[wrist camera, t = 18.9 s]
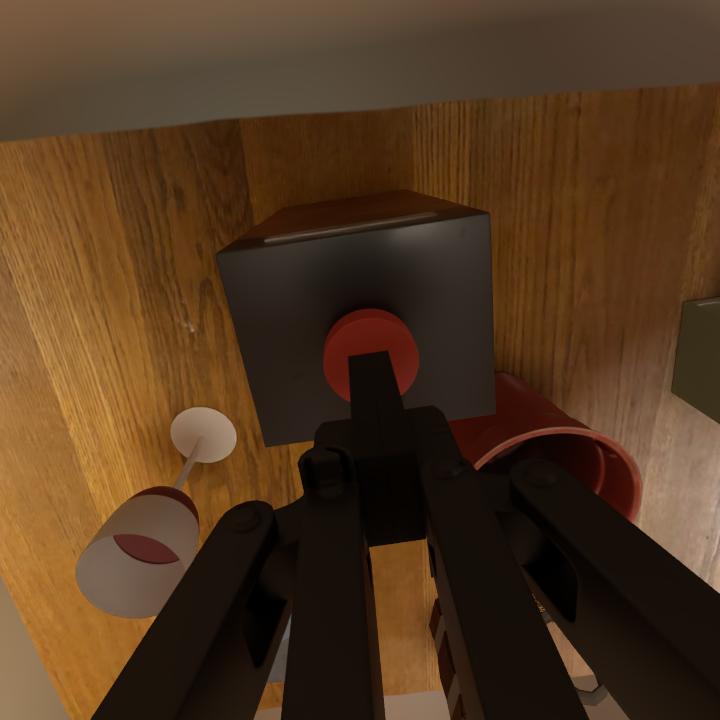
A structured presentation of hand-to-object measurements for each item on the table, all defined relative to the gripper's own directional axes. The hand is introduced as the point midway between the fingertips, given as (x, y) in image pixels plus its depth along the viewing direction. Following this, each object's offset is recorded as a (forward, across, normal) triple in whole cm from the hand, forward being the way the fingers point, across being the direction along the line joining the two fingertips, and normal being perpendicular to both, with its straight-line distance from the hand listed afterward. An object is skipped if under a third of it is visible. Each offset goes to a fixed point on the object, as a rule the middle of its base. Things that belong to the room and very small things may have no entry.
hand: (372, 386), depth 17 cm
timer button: (+3, 0, 0) cm, 3 cm away
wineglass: (+31, -20, -18) cm, 41 cm away
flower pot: (+31, +13, -21) cm, 40 cm away
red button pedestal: (+31, 0, 0) cm, 31 cm away
